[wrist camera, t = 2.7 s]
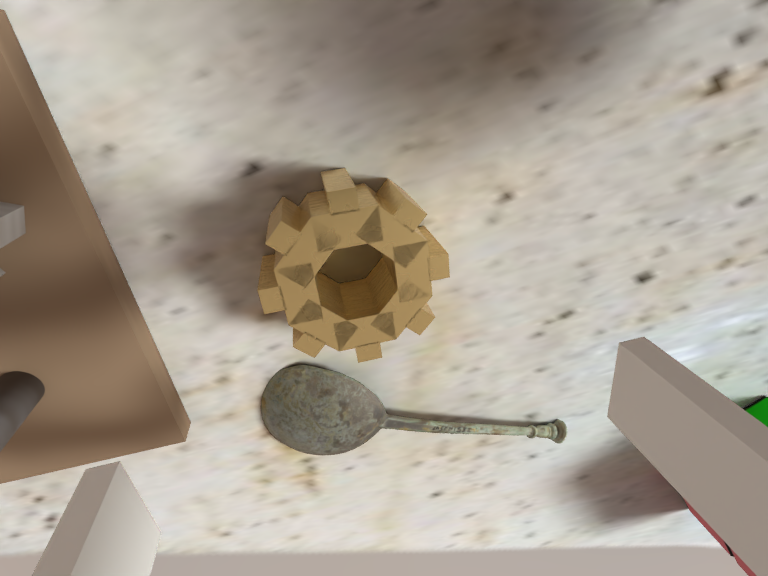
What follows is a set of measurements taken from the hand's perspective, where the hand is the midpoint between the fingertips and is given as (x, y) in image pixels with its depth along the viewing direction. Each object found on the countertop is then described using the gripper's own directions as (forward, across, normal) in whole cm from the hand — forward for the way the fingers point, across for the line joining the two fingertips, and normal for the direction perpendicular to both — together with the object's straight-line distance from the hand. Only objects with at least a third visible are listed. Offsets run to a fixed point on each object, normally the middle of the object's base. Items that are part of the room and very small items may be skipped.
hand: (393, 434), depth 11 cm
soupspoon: (+14, +4, -13) cm, 19 cm away
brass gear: (+13, 0, 0) cm, 13 cm away
